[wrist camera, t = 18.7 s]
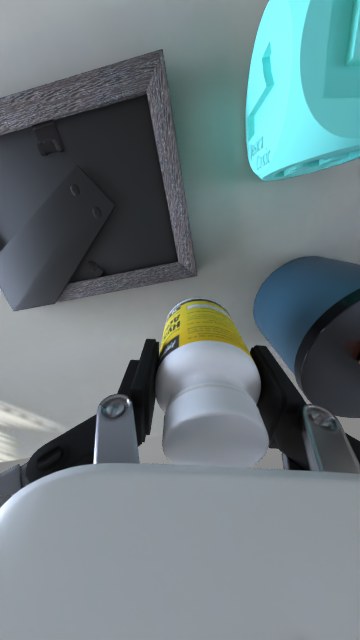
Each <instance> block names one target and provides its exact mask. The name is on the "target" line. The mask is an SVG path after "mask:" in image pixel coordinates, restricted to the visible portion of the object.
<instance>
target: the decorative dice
mask: <svg viewBox="0 0 360 640" xmlns="http://www.w3.org/2000/svg"><path fill="white" fill-rule="evenodd" d="M246 145H247V153H248V159H249V162H250V166H251V168H252V170H253V171H254V173H256V174H257V175H258V176H259V177H260V178H261V179H262V180H263V181H273V180H280V179H285V178H290V177H295V176H299V175H303V174H308V173H311V172H315V171H319V170H323V169H326V168H330V167H333V166H336V165H339V164H343V163H346V162H349V161H352V160H355V159H358V158H360V0H270V1H269V3H268V5H267V7H266V9H265V12H264V14H263V17H262V20H261V23H260V26H259V29H258V33H257V37H256V41H255V45H254V50H253V55H252V60H251V66H250V73H249V80H248V89H247V100H246Z"/></svg>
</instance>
